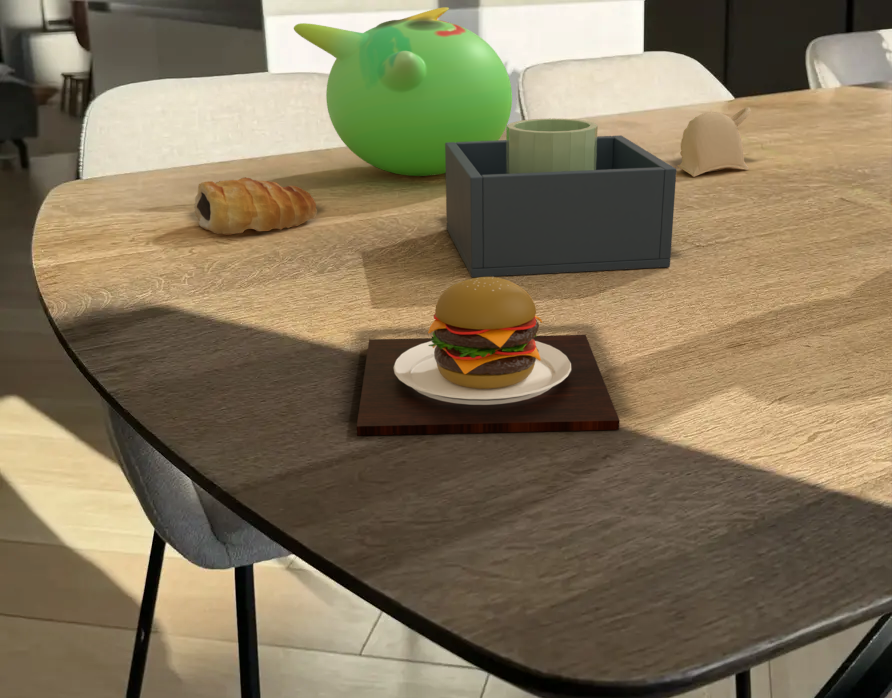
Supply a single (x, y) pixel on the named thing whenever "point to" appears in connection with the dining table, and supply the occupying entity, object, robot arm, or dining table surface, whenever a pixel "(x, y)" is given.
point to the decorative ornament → (713, 143)
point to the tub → (550, 145)
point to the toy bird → (412, 90)
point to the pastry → (251, 206)
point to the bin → (559, 211)
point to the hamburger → (483, 372)
